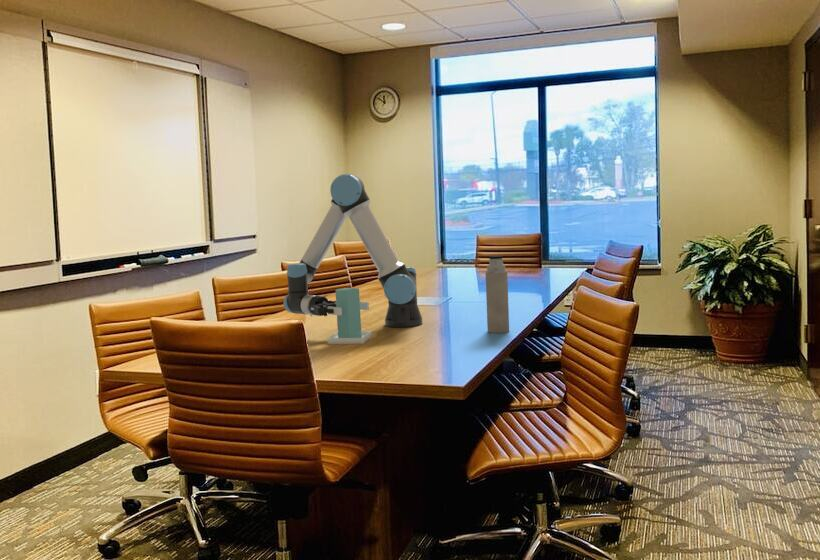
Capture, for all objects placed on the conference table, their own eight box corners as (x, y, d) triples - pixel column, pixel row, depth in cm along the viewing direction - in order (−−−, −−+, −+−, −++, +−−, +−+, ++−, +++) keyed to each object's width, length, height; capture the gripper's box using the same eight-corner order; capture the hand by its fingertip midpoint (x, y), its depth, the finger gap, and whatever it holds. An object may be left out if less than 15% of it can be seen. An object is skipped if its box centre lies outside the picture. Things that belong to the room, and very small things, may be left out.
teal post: (338, 338, 270) (335, 289, 269) (350, 336, 275) (347, 287, 273) (349, 340, 266) (346, 290, 265) (361, 337, 271) (358, 288, 269)
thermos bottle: (491, 328, 281) (489, 255, 278) (512, 329, 277) (509, 254, 274) (484, 332, 274) (481, 256, 271) (505, 333, 270) (502, 256, 267)
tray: (371, 336, 276) (371, 331, 276) (363, 343, 263) (363, 338, 263) (337, 337, 278) (337, 331, 278) (327, 344, 265) (327, 338, 265)
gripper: (340, 310, 291) (379, 314, 277) (290, 320, 273) (329, 324, 259) (339, 291, 290) (378, 294, 276) (289, 299, 272) (328, 303, 258)
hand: (354, 308), depth 267 cm, fingers open, 13 cm apart
